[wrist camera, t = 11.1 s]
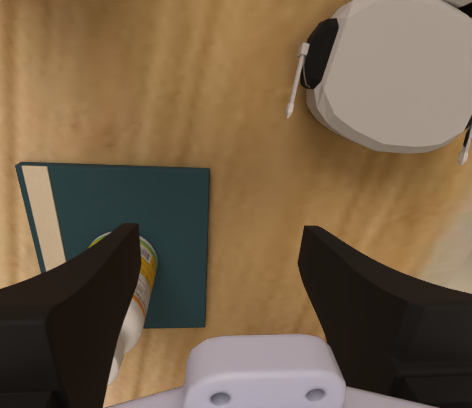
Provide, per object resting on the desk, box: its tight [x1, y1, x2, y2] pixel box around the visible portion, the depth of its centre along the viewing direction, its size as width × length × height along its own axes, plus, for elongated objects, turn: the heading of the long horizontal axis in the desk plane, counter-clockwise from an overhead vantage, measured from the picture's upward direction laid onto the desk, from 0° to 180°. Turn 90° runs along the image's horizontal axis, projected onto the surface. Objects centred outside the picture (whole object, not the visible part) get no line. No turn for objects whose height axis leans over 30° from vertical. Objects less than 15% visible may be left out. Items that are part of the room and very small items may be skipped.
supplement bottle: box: [88, 232, 157, 386], centre depth 20 cm, size 5×5×10 cm
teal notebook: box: [15, 162, 210, 329], centre depth 25 cm, size 15×13×1 cm
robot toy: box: [286, 0, 472, 166], centre depth 18 cm, size 12×4×15 cm
